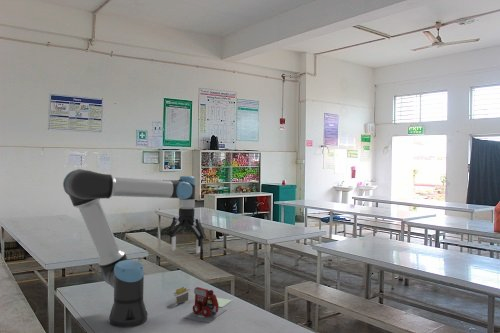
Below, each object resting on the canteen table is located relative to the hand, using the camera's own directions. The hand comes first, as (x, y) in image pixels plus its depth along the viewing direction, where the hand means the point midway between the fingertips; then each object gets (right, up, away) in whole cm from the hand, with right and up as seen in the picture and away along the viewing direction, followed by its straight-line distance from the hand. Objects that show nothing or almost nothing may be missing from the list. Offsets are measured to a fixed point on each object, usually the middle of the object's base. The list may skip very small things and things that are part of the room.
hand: (185, 251), depth 197 cm
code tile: (+12, -22, -22) cm, 33 cm away
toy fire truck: (+12, -22, -22) cm, 33 cm away
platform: (-1, -23, -7) cm, 24 cm away
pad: (+16, -22, -8) cm, 29 cm away
